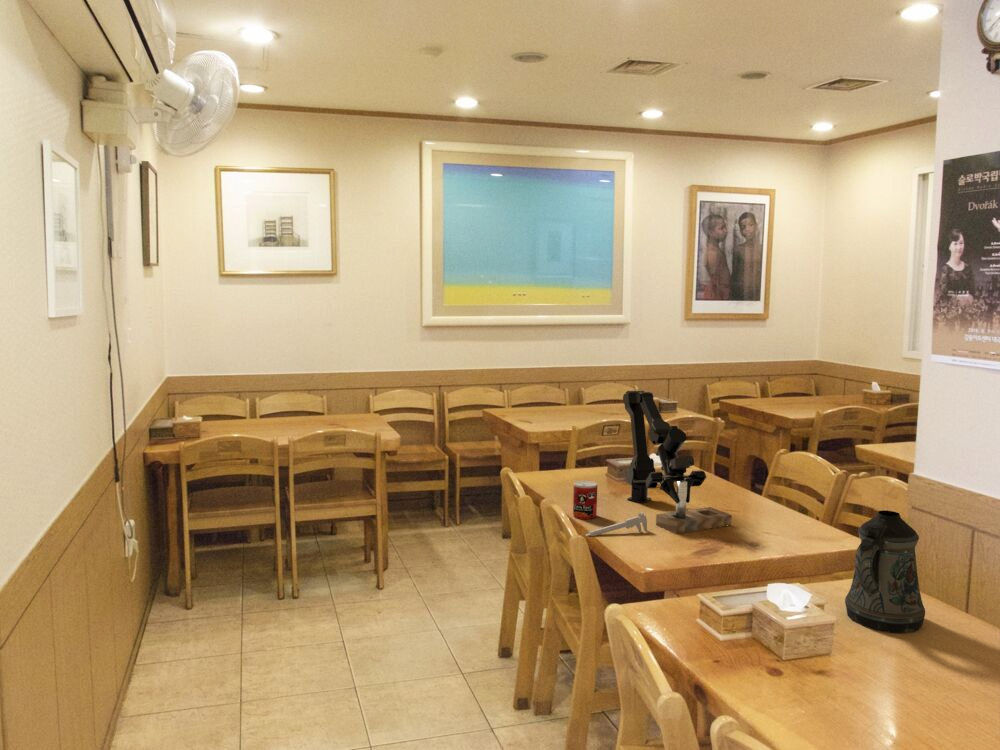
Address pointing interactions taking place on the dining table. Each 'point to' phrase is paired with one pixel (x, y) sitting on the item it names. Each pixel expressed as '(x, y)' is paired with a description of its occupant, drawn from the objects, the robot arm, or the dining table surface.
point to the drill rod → (681, 499)
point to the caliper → (623, 525)
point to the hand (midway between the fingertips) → (683, 502)
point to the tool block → (693, 520)
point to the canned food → (585, 499)
